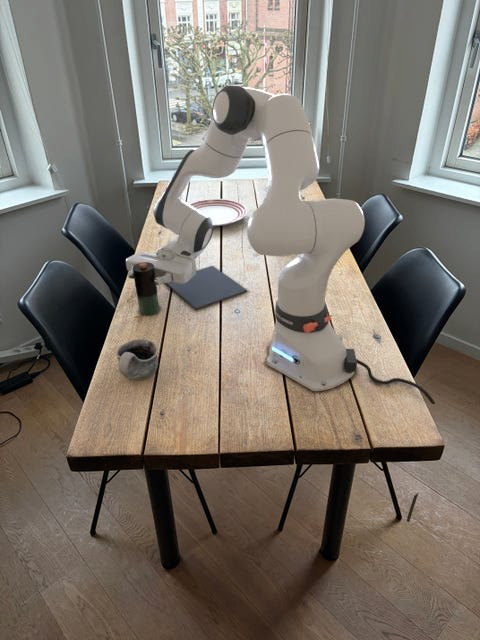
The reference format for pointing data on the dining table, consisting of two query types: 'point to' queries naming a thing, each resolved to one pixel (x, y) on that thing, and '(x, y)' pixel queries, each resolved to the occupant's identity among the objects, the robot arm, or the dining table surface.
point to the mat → (207, 288)
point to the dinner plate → (221, 210)
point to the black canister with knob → (144, 279)
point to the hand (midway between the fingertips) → (143, 279)
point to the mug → (138, 359)
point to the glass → (148, 305)
